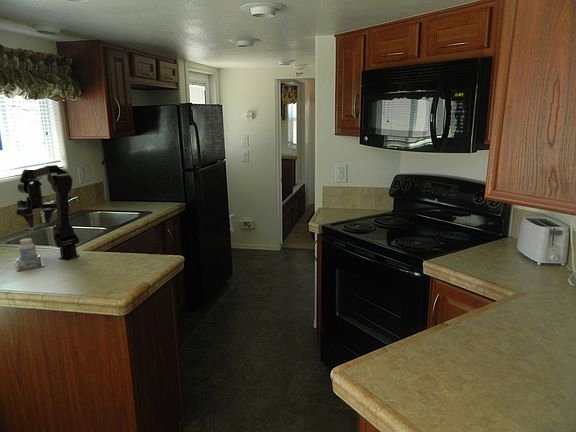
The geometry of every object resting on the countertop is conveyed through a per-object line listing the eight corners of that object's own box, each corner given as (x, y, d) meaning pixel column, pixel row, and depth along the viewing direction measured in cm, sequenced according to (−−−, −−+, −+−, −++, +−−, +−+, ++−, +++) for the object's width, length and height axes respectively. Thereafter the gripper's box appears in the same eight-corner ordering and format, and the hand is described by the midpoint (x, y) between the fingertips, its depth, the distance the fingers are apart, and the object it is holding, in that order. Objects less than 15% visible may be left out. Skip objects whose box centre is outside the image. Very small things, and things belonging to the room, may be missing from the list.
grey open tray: (43, 266, 188) (42, 259, 188) (17, 271, 183) (16, 263, 182) (41, 259, 200) (39, 251, 199) (15, 263, 194) (14, 255, 193)
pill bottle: (19, 265, 190) (14, 240, 187) (32, 260, 195) (27, 237, 193) (27, 266, 187) (23, 241, 185) (40, 262, 193) (36, 238, 190)
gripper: (38, 191, 218) (43, 220, 221) (5, 197, 201) (10, 229, 204) (55, 191, 215) (60, 221, 218) (23, 197, 197) (28, 230, 201)
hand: (39, 225), depth 210 cm, fingers open, 9 cm apart
